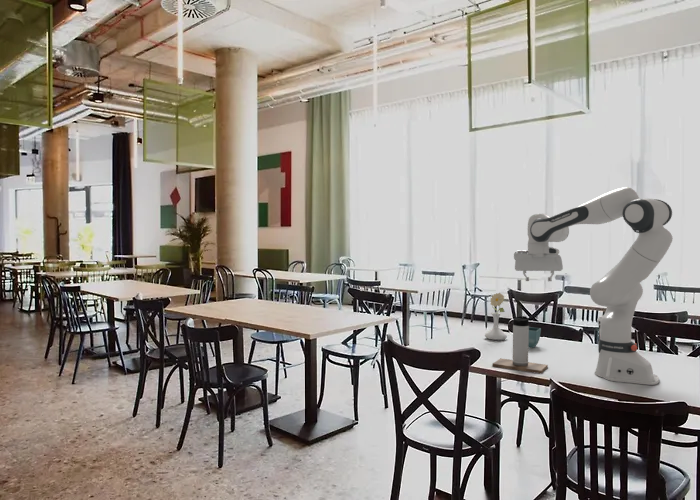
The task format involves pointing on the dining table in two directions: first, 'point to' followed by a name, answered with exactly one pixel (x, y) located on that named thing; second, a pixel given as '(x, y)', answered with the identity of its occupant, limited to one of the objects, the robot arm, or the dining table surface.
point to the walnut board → (529, 368)
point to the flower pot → (533, 336)
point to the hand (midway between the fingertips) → (538, 281)
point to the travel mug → (520, 340)
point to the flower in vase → (496, 319)
